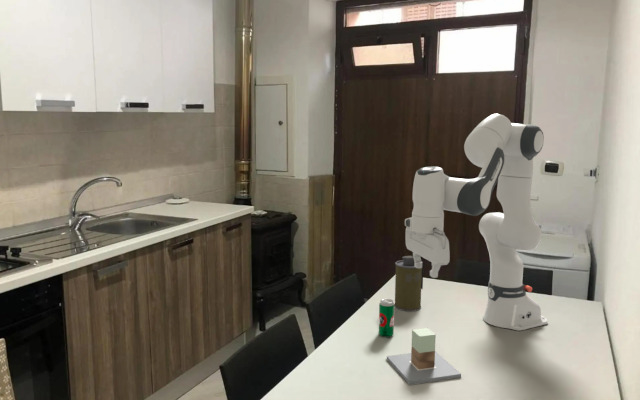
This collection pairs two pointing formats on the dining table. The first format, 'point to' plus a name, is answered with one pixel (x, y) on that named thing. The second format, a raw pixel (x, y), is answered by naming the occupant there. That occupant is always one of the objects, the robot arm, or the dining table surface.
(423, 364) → the walnut brick
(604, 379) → the dining table surface
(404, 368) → the board
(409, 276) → the canister
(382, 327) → the soda can
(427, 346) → the sage brick
